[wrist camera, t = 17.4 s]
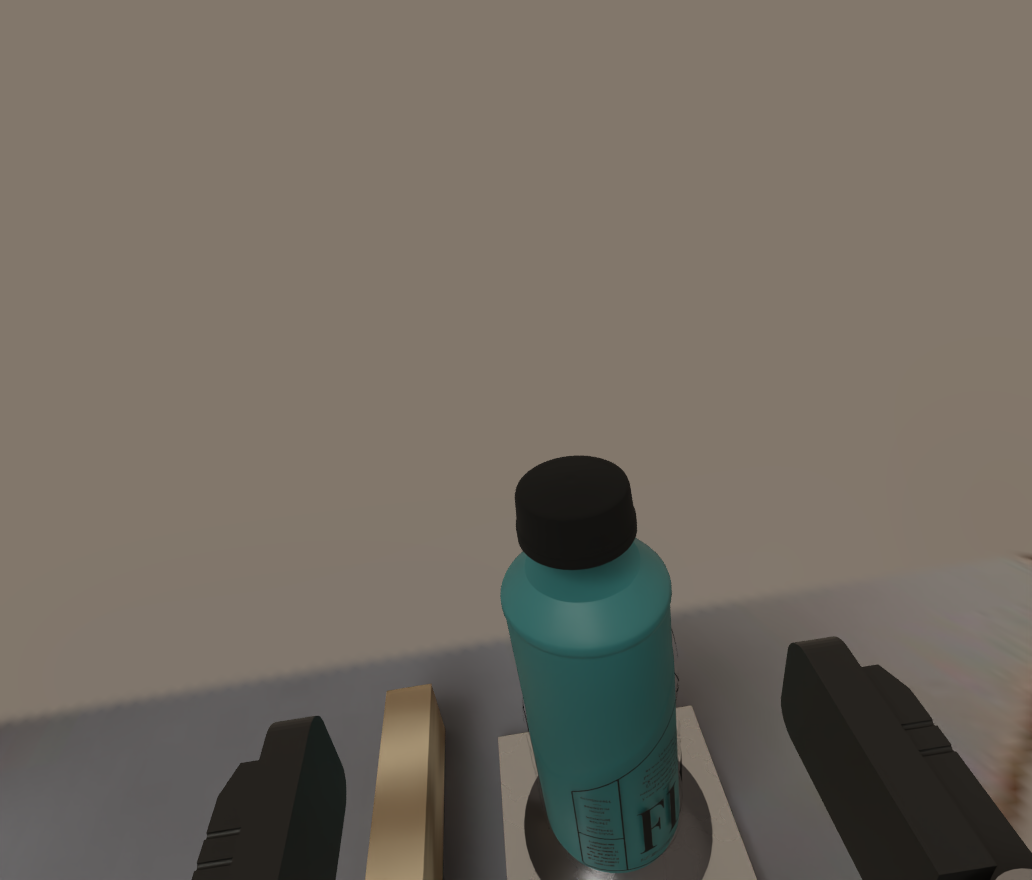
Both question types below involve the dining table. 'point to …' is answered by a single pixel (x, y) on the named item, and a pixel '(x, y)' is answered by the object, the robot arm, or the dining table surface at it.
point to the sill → (409, 789)
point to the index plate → (676, 873)
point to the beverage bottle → (595, 663)
